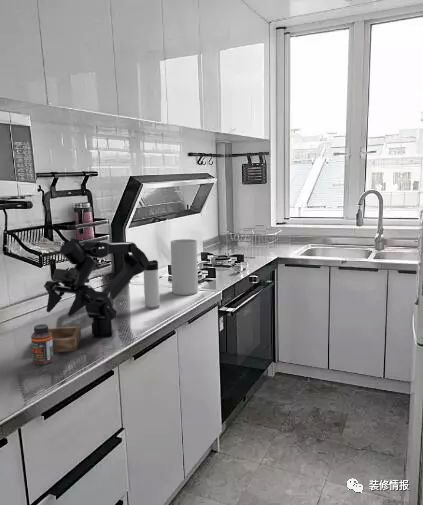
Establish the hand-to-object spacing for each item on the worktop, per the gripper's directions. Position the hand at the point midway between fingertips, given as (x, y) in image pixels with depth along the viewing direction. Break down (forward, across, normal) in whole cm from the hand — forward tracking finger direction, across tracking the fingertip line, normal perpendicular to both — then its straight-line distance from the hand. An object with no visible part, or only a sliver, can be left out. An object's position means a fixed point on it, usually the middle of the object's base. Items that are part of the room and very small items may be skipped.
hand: (58, 313), depth 145 cm
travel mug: (-30, -4, +50) cm, 58 cm away
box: (+6, -7, +13) cm, 16 cm away
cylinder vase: (-50, -5, +69) cm, 86 cm away
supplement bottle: (+14, 0, +4) cm, 15 cm away
